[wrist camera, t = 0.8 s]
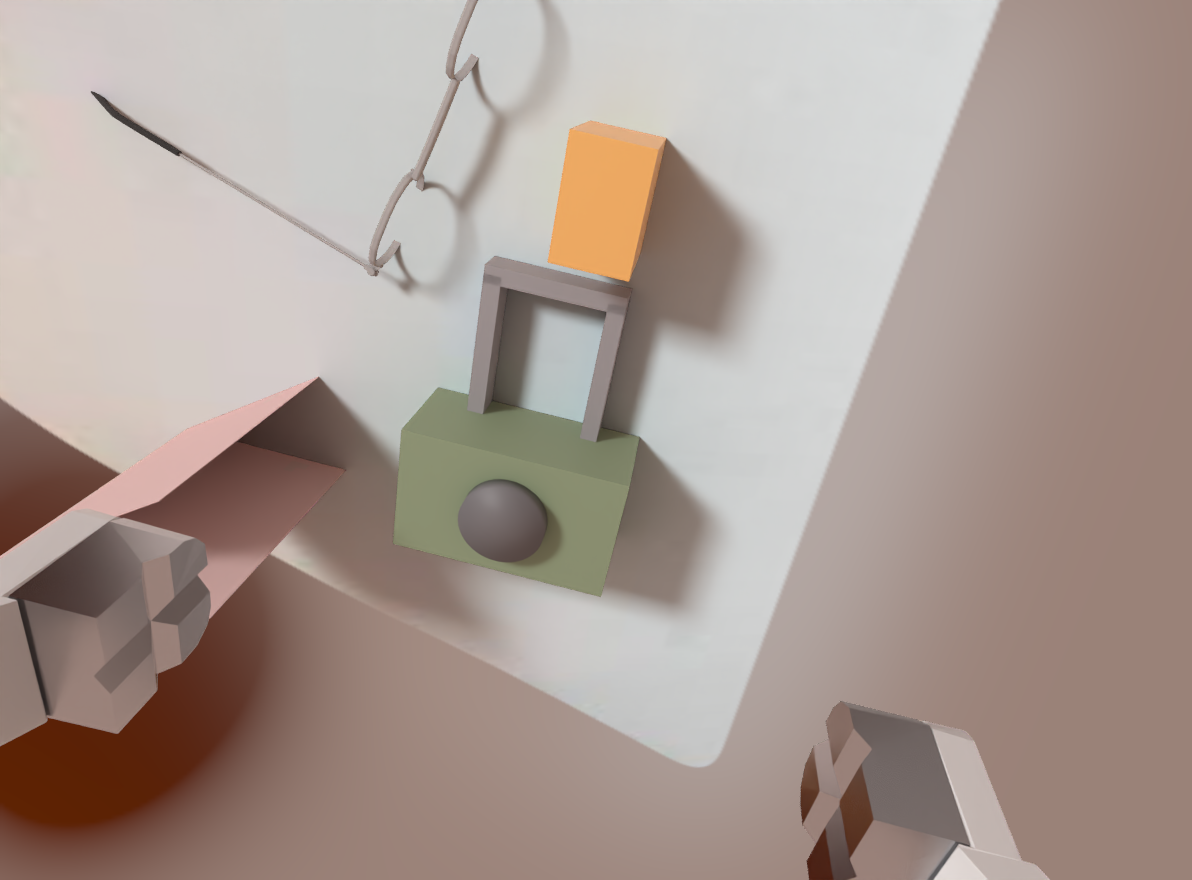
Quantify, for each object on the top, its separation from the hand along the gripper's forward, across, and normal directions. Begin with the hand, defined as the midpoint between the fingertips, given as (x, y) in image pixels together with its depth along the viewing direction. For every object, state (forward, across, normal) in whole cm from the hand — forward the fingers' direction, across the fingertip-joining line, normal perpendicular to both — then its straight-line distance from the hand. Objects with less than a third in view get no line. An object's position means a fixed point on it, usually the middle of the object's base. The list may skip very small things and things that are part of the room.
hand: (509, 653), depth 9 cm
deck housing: (+33, +5, +14) cm, 36 cm away
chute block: (+33, +3, 0) cm, 33 cm away
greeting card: (+33, +23, +18) cm, 44 cm away
